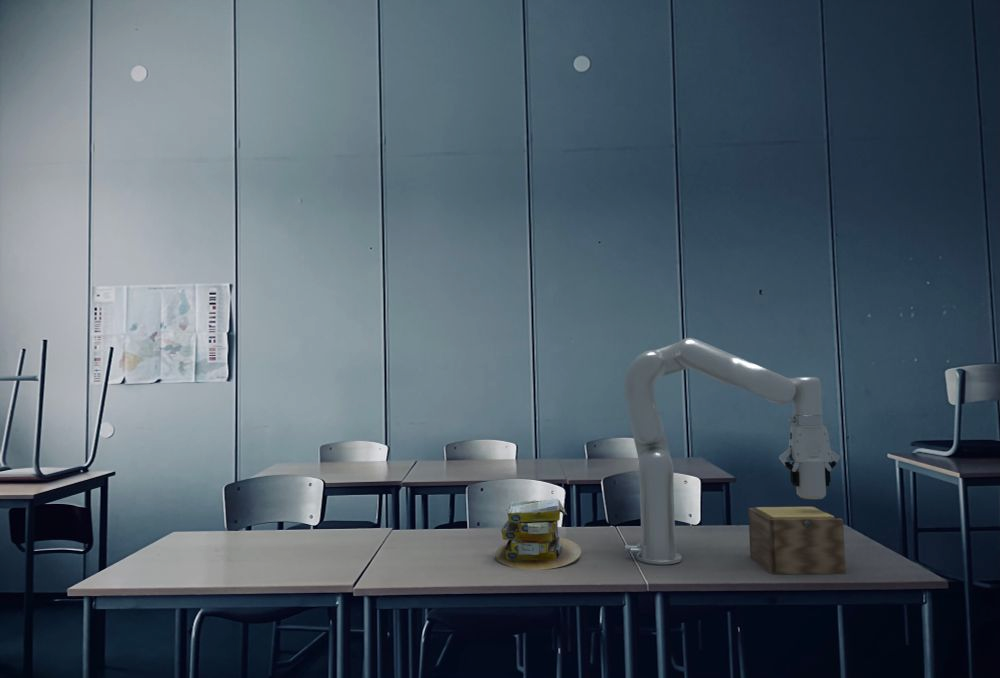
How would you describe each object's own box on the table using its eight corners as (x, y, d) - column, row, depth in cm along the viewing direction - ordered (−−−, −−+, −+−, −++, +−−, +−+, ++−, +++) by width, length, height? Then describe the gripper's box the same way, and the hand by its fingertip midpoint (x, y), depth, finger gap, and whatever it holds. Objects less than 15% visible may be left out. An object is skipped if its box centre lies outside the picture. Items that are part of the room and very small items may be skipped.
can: (823, 495, 189) (821, 452, 190) (829, 500, 182) (826, 455, 183) (794, 494, 191) (792, 452, 192) (798, 499, 184) (796, 454, 185)
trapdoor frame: (773, 575, 177) (770, 520, 178) (749, 556, 195) (747, 507, 196) (847, 574, 176) (844, 520, 177) (816, 556, 195) (814, 506, 196)
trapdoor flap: (773, 520, 180) (773, 516, 180) (755, 510, 194) (755, 507, 194) (834, 520, 179) (834, 516, 179) (812, 510, 193) (812, 506, 193)
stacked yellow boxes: (567, 573, 182) (566, 510, 183) (482, 565, 191) (482, 505, 192) (589, 551, 205) (588, 495, 206) (512, 545, 214) (511, 492, 215)
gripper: (781, 422, 185) (784, 488, 183) (845, 421, 184) (849, 487, 183) (771, 421, 192) (773, 483, 191) (833, 420, 191) (836, 483, 190)
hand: (810, 485), depth 187 cm, fingers closed on can, 7 cm apart
